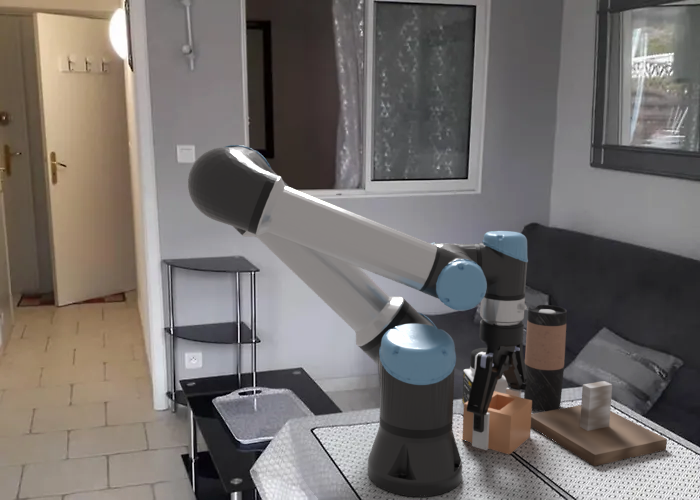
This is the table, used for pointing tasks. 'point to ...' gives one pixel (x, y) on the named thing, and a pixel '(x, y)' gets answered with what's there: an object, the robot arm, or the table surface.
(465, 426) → the tan cube with window
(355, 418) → the table surface
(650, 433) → the stand
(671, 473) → the table surface
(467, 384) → the medicine bottle
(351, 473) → the table surface
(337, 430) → the table surface
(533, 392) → the travel mug
